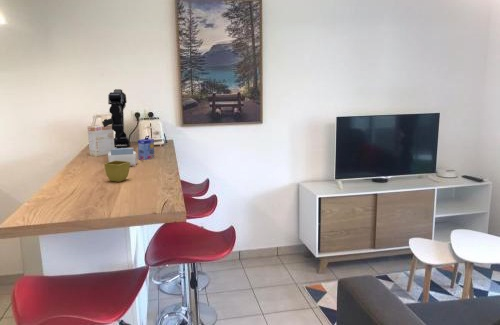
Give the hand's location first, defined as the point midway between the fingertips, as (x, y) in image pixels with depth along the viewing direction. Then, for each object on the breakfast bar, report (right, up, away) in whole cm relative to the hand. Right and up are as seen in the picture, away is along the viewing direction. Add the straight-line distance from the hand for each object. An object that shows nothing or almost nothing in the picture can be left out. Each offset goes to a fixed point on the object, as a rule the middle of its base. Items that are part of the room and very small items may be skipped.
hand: (118, 140), depth 245 cm
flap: (+6, -9, -13) cm, 17 cm away
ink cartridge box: (+14, -11, +11) cm, 21 cm away
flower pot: (+15, -22, -46) cm, 53 cm away
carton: (+4, -14, -5) cm, 16 cm away
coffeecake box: (-19, -8, +28) cm, 35 cm away
